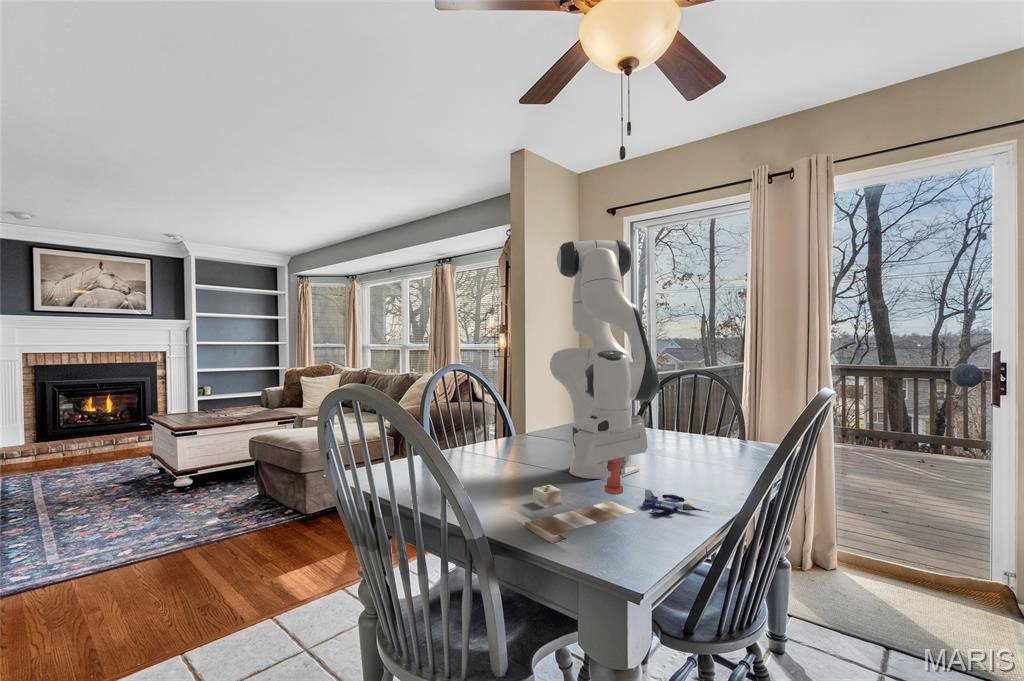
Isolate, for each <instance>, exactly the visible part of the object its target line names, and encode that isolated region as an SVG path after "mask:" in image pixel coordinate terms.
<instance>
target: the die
mask: <svg viewBox="0 0 1024 681" xmlns="http://www.w3.org/2000/svg"><path fill="white" fill-rule="evenodd" d="M532 503H533V504H535V505H537V506H539V507H541V508H544V509H547V508H551V507H554V506H555V507H556V506H559V505H562V489H561V488H558V487H555V486H554V485H552V484H547V485H542V486H537V487H532Z"/></svg>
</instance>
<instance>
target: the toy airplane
mask: <svg viewBox="0 0 1024 681" xmlns="http://www.w3.org/2000/svg"><path fill="white" fill-rule="evenodd" d="M662 498H663V499H662V500H658V499H659V497H658V496H655V495H654V493H653V492H652V491H651V490H649V489H645V490H644V501H643V502H642V503H641V504H642V505H644V506H650V508H651V512H652V513H655V514H670V515H673V514H675V513H676V512H679V511H680V510H681V511H683V512H684V511H685V512H687V513H689V512H693V511H698V512H700V511H701V512H708V513H710V511H709V510H706V509H705V510H703V509H701V508H699V507H695V506H694V505H693V504H691V503H689V502H685V501H687V500H686V499H685V498H684V497H682V496H678V495H676V494H662ZM684 502H685V503H684ZM653 504H656V505H653ZM712 513H715V512H713V511H712Z"/></svg>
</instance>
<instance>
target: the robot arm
mask: <svg viewBox="0 0 1024 681" xmlns="http://www.w3.org/2000/svg"><path fill="white" fill-rule="evenodd" d="M632 263H633V252H632V248H631V246H630V244H629V243H628V242H626V241H624V240H623V241H622V240H619V239H617V240H615V241H614V240H608V239H594V240H592V239H591V240H581V241H572V240H571V241H566V242H564V243H562V244H561V245H560V246H559V250H558V251H557V254H556V265H557V268H558V271H559V273H560V274H561V275H562V276H563V277H567V278H574V283H573V290H572V327H573V329H574V331H575V332H576V333H577V334H580V335H581V336H583V337H585V338H588V339H589V340H590V341H591V343H592V346H591V347H569V348H562V349H559V350H556V351H555V352H554V353H553V355H552V356H551V358H550V361H549V362H550V363H549V369H550V372H551V375H552V376H553V377H554V379H555V380H556V381H558V383H560V384H561V385H562V386H563V387H564V388H565V390H566V391H567V393H568V394H569V396H570V399H571V404H572V411H573V412H572V413H573V427H572V441H573V448H572V457H571V464H570V467H569V471H568V472H569V473H570V475H572V476H575V477H578V478H583V479H594V480H595V479H596V480H597V479H599V480H603V479H604V480H607V479H609V478H611V471H609V470H608V469H607V465H608V461H609V460H613V459H617V458H621V459H620V478H623V477H625V476H628V475H631V474H633V473H636V472H639V471H640V467H639V465H636V464H634V463H632V456H635V455H639V454H645V453H646V452H647V450H648V436H647V435H648V434H647V429H646V426H645V419H644V418H643V417H642V416H641V415H639V414H635V415H632V403H631V400H632V401H637V402H638V401H639V402H648V401H650V400H651V399H653V398H654V397H655V396H656V395H657V394H658V392H659V390H660V381H661V380H660V377H659V373H658V370H657V366H656V365H655V364H656V363H655V362H654V359H653V357H652V353H651V349H650V346H649V342H648V338H647V334H646V331H645V328H644V325H643V320H642V318H641V315H640V312H639V310H638V307H637V305H636V304H634V303H633V302H631V301H629V299H628V298H627V297H626V294H625V292H624V290H623V283H622V277H623V276H625V275H626V274H627V273H628V272H629V271H630V269H631V267H632ZM610 324H612V325H614V326H615V327H618V328H620V329H621V330H623V331H624V332H625V333H626V336H627V338H628V342H629V345H630V349H631V353H632V355H631V353H629V351H628V350H627V349H625V348H624V347H623V346H621V345H620V344H619V342H618V341H617V339H616V338H615V337H614V335H613V333H612V329H611V325H610Z"/></svg>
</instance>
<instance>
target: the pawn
mask: <svg viewBox="0 0 1024 681" xmlns="http://www.w3.org/2000/svg"><path fill="white" fill-rule="evenodd" d="M620 459H621V458H617V459H613V460H609V461H608V465H607V469H608V470H609V471H611V478H609V479H606V484H604V486H603V487H604V493H606V494H608V495H615V496H616V495H617V496H618V495H621V494H623V493H624V486H623V485H622V484H621V477H620Z"/></svg>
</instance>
